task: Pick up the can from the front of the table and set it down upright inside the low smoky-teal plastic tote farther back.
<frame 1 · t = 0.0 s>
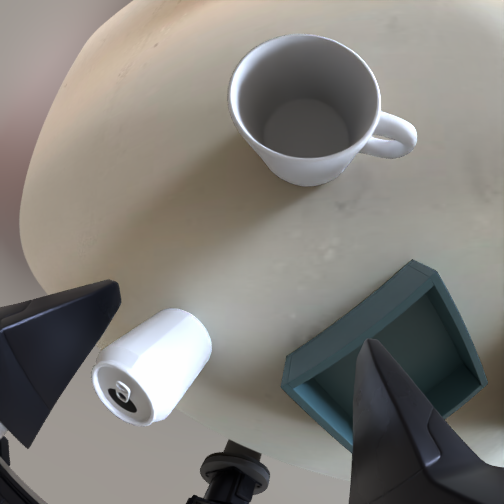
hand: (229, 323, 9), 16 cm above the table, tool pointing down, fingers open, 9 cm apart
mug: (325, 145, 23), on the table
tote: (389, 363, 24), on the table
can: (183, 336, 28), on the table
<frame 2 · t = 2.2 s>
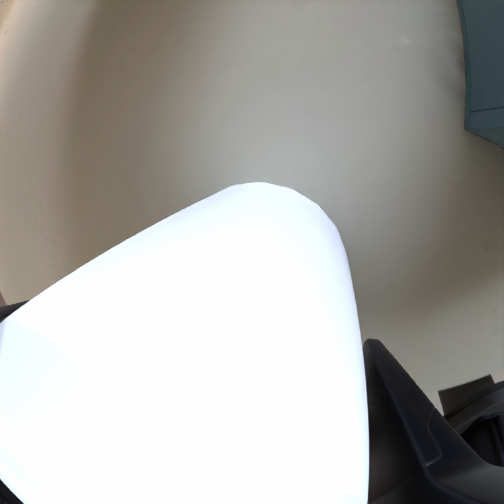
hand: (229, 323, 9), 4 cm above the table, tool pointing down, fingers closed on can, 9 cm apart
can: (264, 260, 13), on the table, touching gripper
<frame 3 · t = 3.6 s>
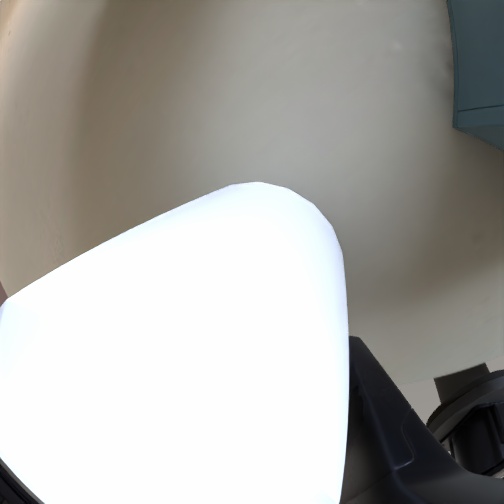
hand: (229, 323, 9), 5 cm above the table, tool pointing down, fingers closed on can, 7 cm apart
can: (262, 258, 13), point 1 cm above the table, touching gripper
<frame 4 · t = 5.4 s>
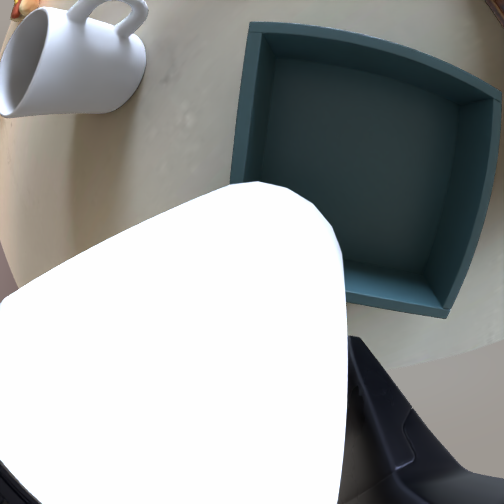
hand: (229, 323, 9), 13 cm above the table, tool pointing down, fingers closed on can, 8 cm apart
mug: (125, 60, 18), on the table
tote: (361, 166, 18), on the table
can: (261, 258, 13), point 8 cm above the table, touching gripper
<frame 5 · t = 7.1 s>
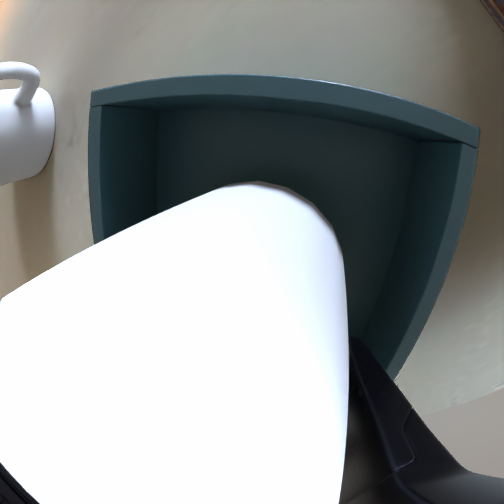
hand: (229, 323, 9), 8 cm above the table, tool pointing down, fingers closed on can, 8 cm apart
mug: (41, 118, 16), on the table
tote: (269, 239, 16), on the table
can: (262, 258, 13), point 3 cm above the table, touching gripper
when the fingers open (5 cm above the table, at t = 8.3 s): can stays where it is, resting on tote.
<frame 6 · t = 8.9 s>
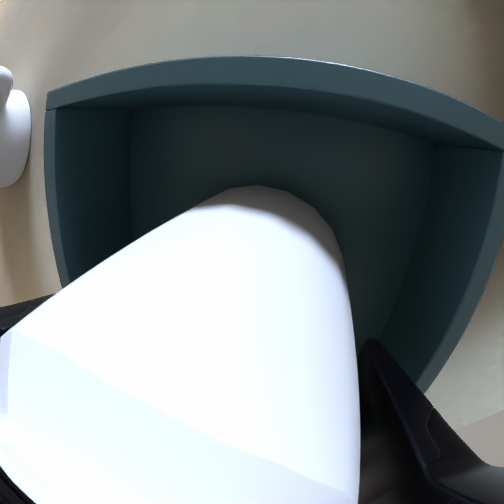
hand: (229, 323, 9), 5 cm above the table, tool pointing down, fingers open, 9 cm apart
mug: (19, 122, 14), on the table
tote: (259, 260, 13), on the table
can: (261, 261, 13), resting on tote
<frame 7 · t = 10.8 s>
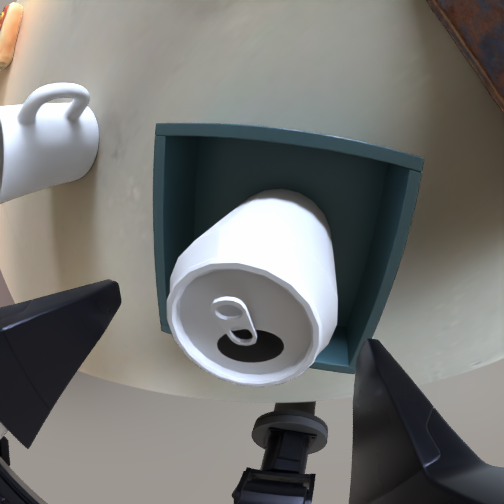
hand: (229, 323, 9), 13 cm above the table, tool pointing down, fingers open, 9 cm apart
mug: (83, 131, 22), on the table
food: (16, 36, 18), on the table
tote: (280, 235, 21), on the table
can: (281, 235, 21), resting on tote
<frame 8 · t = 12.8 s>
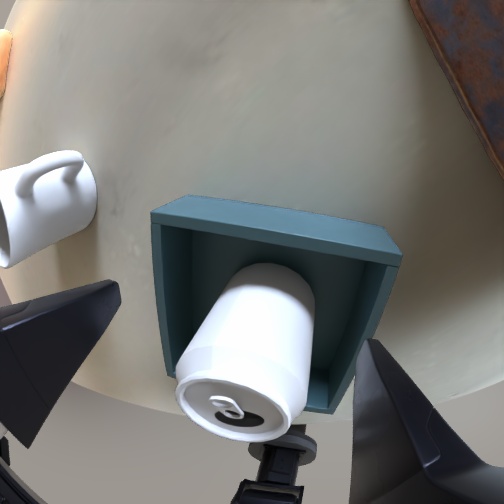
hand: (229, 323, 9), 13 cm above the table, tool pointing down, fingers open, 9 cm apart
mug: (81, 183, 24), on the table
food: (7, 65, 20), on the table
tote: (270, 296, 23), on the table
can: (271, 297, 23), resting on tote
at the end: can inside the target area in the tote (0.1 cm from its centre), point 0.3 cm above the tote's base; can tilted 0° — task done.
